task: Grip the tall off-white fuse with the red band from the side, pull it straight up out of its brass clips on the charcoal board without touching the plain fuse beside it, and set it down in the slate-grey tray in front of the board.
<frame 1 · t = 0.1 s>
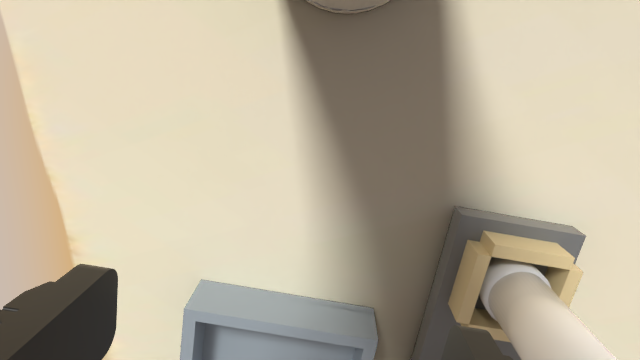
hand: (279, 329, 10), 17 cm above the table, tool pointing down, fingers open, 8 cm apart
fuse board: (474, 334, 30), on the table
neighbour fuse: (505, 280, 27), point 1 cm above the table, touching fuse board
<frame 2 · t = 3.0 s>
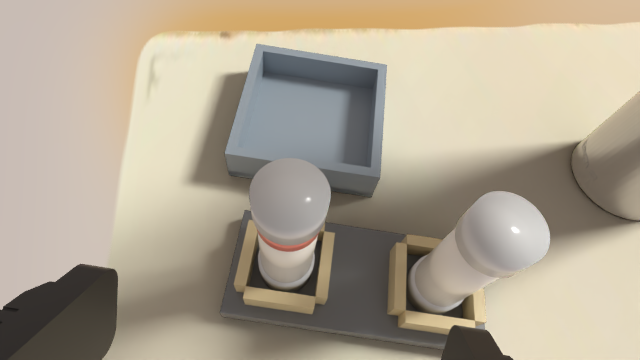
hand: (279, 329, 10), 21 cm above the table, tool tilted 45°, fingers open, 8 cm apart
parts tray: (310, 128, 38), on the table
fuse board: (355, 282, 32), on the table
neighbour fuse: (430, 287, 30), point 1 cm above the table, touching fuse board
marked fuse: (286, 266, 30), point 1 cm above the table, touching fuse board
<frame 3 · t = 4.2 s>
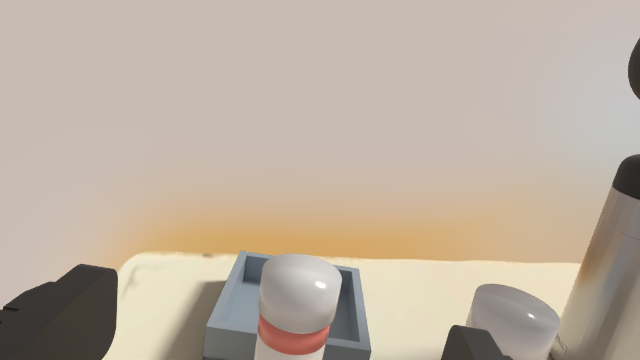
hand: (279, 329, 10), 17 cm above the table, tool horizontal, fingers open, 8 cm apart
parts tray: (290, 325, 37), on the table
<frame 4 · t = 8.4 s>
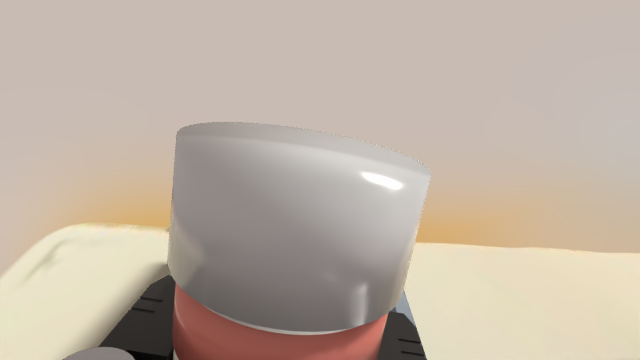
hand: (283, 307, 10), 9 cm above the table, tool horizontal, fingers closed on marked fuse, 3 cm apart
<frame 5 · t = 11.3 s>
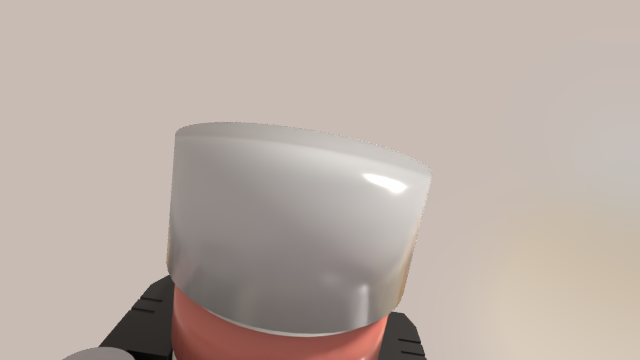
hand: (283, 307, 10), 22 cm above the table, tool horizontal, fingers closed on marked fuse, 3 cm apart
when the fingers open (9 cm above the table, at t = 14.7 s): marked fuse drops 1 cm, resting on parts tray.
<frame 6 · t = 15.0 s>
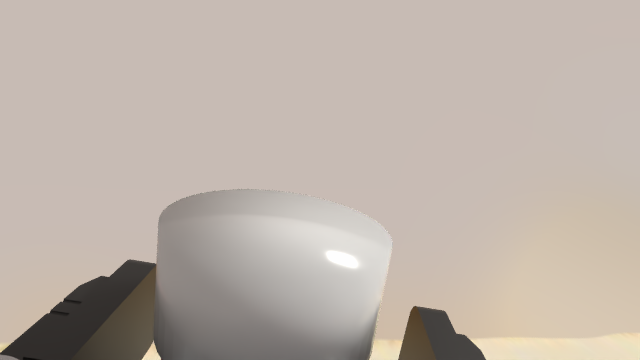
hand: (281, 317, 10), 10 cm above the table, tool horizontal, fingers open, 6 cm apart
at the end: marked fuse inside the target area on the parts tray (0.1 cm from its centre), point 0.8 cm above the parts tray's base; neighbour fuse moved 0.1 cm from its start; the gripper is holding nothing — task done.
